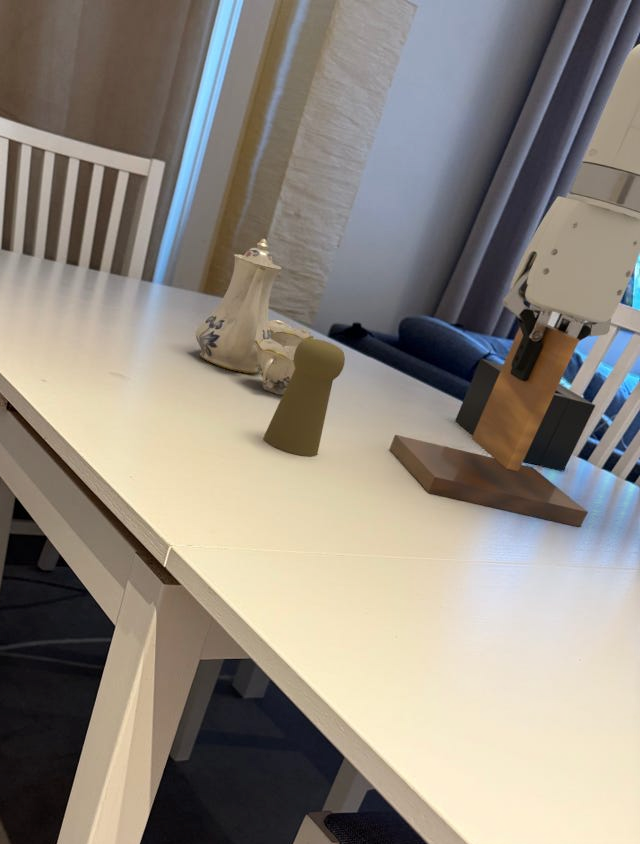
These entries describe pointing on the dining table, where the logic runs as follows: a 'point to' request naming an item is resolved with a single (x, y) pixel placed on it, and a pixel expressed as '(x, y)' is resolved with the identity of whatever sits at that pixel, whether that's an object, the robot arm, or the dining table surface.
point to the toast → (523, 400)
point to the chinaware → (251, 325)
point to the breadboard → (485, 481)
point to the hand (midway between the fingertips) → (527, 379)
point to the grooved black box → (556, 426)
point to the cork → (306, 398)
